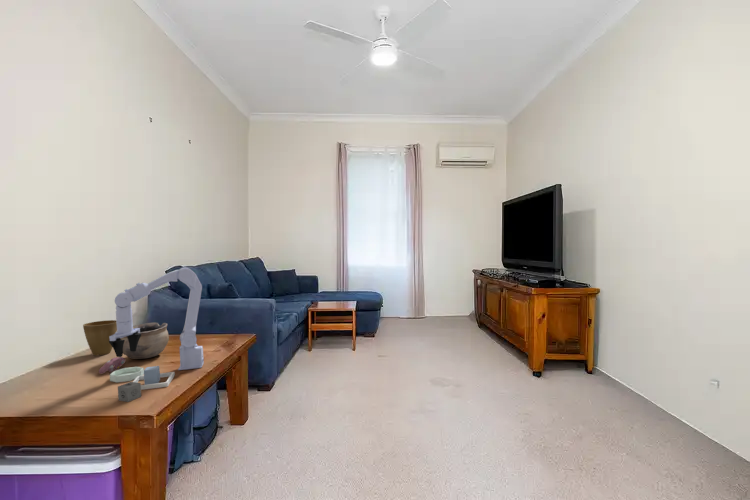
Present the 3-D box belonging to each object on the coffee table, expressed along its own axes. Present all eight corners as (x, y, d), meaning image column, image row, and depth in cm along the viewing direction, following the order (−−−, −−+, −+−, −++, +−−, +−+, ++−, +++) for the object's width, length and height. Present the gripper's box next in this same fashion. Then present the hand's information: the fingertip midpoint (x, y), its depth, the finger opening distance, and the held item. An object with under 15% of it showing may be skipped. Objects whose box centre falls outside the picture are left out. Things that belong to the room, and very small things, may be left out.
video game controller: (105, 378, 173) (110, 363, 172) (96, 373, 174) (102, 358, 173) (123, 370, 183) (129, 357, 182) (115, 365, 183) (121, 352, 182)
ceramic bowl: (178, 354, 200) (177, 324, 200) (133, 366, 182) (131, 333, 182) (154, 349, 212) (152, 320, 212) (109, 360, 194) (107, 329, 194)
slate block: (160, 380, 162) (159, 365, 162) (157, 384, 158) (156, 369, 158) (147, 382, 161) (146, 367, 161) (144, 385, 157) (143, 370, 157)
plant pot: (107, 357, 200) (105, 325, 199) (77, 358, 200) (75, 326, 199) (125, 349, 215) (124, 319, 214) (98, 350, 215) (96, 320, 214)
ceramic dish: (146, 371, 175) (146, 365, 175) (138, 379, 164) (138, 373, 164) (116, 374, 172) (116, 368, 172) (106, 383, 161) (106, 377, 161)
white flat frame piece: (174, 375, 168) (174, 371, 168) (167, 386, 155) (167, 382, 155) (137, 379, 164) (137, 376, 164) (127, 391, 151) (127, 387, 151)
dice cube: (131, 395, 147) (131, 381, 147) (141, 396, 146) (140, 383, 145) (118, 400, 143) (117, 386, 143) (128, 402, 141) (127, 388, 141)
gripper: (128, 317, 175) (130, 349, 175) (101, 325, 161) (103, 359, 161) (143, 317, 174) (145, 349, 174) (117, 325, 160) (119, 359, 160)
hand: (126, 353), depth 168 cm, fingers open, 7 cm apart
